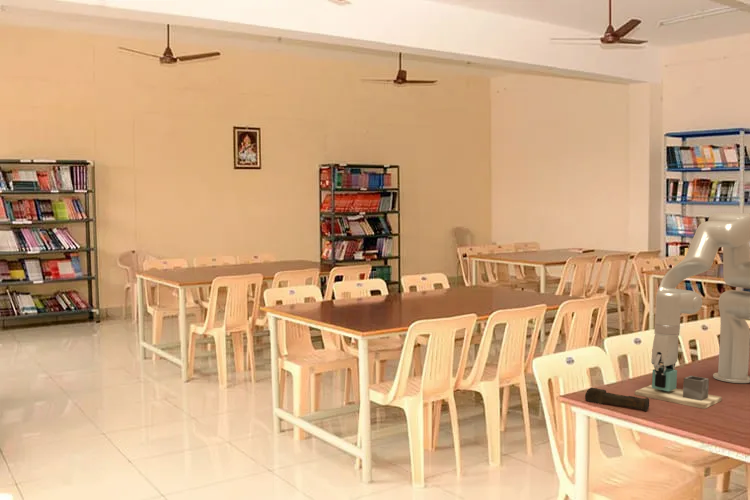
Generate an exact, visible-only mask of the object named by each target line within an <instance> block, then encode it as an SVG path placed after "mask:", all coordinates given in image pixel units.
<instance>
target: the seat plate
mask: <svg viewBox="0 0 750 500" xmlns="http://www.w3.org/2000/svg"><path fill="white" fill-rule="evenodd" d="M682 384H683V387H682V388H677V387H676V389H674V390H672V391H664V390H659V389H654V388H652V384H649V385H648V386H644V387H642V388H640V389H637V390H634V395H636V396H640V397H645V398H648V399H649V398H650V399H654V400H659V401H665V402H669V403H673V404H674V403H675V404H677V405H679V404H680V405H684V406H688V407H693V408H698V409H703V410H705V409H708V408H710V407H712V406H714V405H716V404H717V403H720V402H722V400H723V399H722V398H723V397H722V396H720V395H719V396H718V395H714V394H709V388H710V387H709V386H710V385H709V384H710V378H707V377H702V376H701V377H700V376H696V375H689V376H686V377H683V383H682Z"/></svg>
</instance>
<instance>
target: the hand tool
mask: <svg viewBox="0 0 750 500" xmlns="http://www.w3.org/2000/svg"><path fill="white" fill-rule="evenodd" d="M584 400H585V401H587V402H589V403H593V402H594V404H598V403H599V404H598V405H606V404H608V405H613V406H620V407H623V408H624V407H625V408H631V409H636V410H640V411H641V410H642V411H644V412H645V413H646V412H648V410H649V409H650V399H649V397H645V398H643V397H638V396H632V395H624V394H616V393H612V392H607V389H602V388H598V387H590V388H588V389H587V390H586V392H585V395H584Z"/></svg>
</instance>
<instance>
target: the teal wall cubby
mask: <svg viewBox="0 0 750 500" xmlns="http://www.w3.org/2000/svg"><path fill="white" fill-rule="evenodd" d="M660 368H661V369H662V370H663V368H662V367H660ZM665 375H666V384H665V388H661V387H656V386H655V368H654V369H652V379H651V380H652V381H651V382H652V383H651V385H652V388H654V389H659V390H664V391H672V390H674V389H676V388H677V381H678V379H677V378H678V370H677V369H675V370H673V369H667V368H666V370H665Z"/></svg>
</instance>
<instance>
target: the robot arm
mask: <svg viewBox="0 0 750 500" xmlns="http://www.w3.org/2000/svg"><path fill="white" fill-rule="evenodd" d="M720 248H722V255H723V257H722V260H723V261H722V262H723V264H722V265H723V266H722V267H723V268H722V269H723V271H722V272H723V281H724V283H725V284H726V285H727V286H729V287H733V288H734V287H735V288H740V289H750V213H749V212H727V211H726V212H725V211H724V212H715V213H713V214H711V215H710V216H709V217H708V220H707V221H704V222H702V223H700V224H699V225H698V226H697V229H696V230H695V233H694V236H693V238H692V240H691V243H690V245H689V248H688V250H687V252H686V255H685V257H684V259H682V260H681V261H679V262H678V263H677V264H675V265H674V266H673V267H672V268H670V269H669V270H668V271H667V272H666V273H665V274H664V276H663V277H662V279H661V281H660V284H659V286H658V288H657V290H656V295H655V309H654V310H655V313H654V314H655V315H654V329H653V331H654V333H653V334H654V337H653V343H652V351H651V358H650V359H651V364H652V365H653V368H654V369H655V386H656V387H661V388H665V384H666V375H665V370H666V368H667V369H673V370H676V369H675V368H676V365H677V364H676V363H677V362H678V358H679V336H680V332H681V331H680V329H681V314H687V315H690V314H692V315H693V314H695V313H698V312H699V311H700V309H701V308H702V306H703V298H702V297H701V295H700V294H699V292H696V291H694V290H689V289H688V290H687V289H683V288H677V287H678V285H679V284H681V283H682V282H683V281H684V280H686V279H688V278H691V277H694V276H696V275H699V274H702V273H705V272H708V271H709V270H710V269H712V266H713V264H714V261H715V258H716V256H717V253H718V251H719V249H720ZM718 310H719V318H720V326H719V327H720V329H719V346H718V347H719V349H718V368H717V372H714V373H713V374H712V377H713V379H715V380H717V381H721V382H727V383H733V384H749V383H750V375H748V374H749V362H750V361H749V360H750V359H749V358H750V326H749V324H748V323H747V320H750V291H746V290H737V289H729V290H726V291H724V292H722V293H721V294H720V296H719V299H718ZM660 367H662V368H663V370H662V369H661V368H660Z"/></svg>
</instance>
